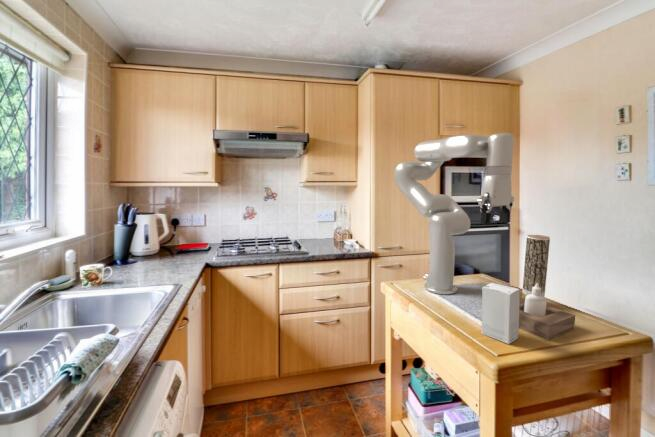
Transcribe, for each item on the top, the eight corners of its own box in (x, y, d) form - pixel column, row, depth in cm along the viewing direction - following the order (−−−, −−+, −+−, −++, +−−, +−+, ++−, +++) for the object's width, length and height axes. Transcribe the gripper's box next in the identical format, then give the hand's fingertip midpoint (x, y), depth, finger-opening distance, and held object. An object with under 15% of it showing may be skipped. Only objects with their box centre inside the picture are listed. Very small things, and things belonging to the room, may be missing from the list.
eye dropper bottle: (543, 325, 99) (546, 287, 97) (522, 320, 102) (525, 283, 101) (545, 320, 102) (549, 283, 100) (525, 315, 106) (528, 280, 104)
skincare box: (518, 339, 93) (522, 289, 91) (508, 345, 89) (512, 293, 87) (489, 327, 100) (492, 281, 98) (479, 333, 96) (482, 285, 94)
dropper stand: (495, 318, 106) (496, 305, 105) (521, 309, 112) (522, 297, 112) (547, 340, 92) (549, 325, 91) (573, 329, 98) (575, 315, 98)
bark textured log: (547, 309, 113) (553, 238, 110) (525, 307, 114) (531, 238, 111) (538, 301, 120) (544, 235, 116) (518, 300, 121) (523, 234, 118)
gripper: (504, 172, 114) (500, 220, 117) (471, 172, 106) (468, 223, 109) (525, 172, 108) (521, 223, 110) (491, 172, 100) (488, 227, 102)
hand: (494, 223), depth 109 cm, fingers open, 9 cm apart
